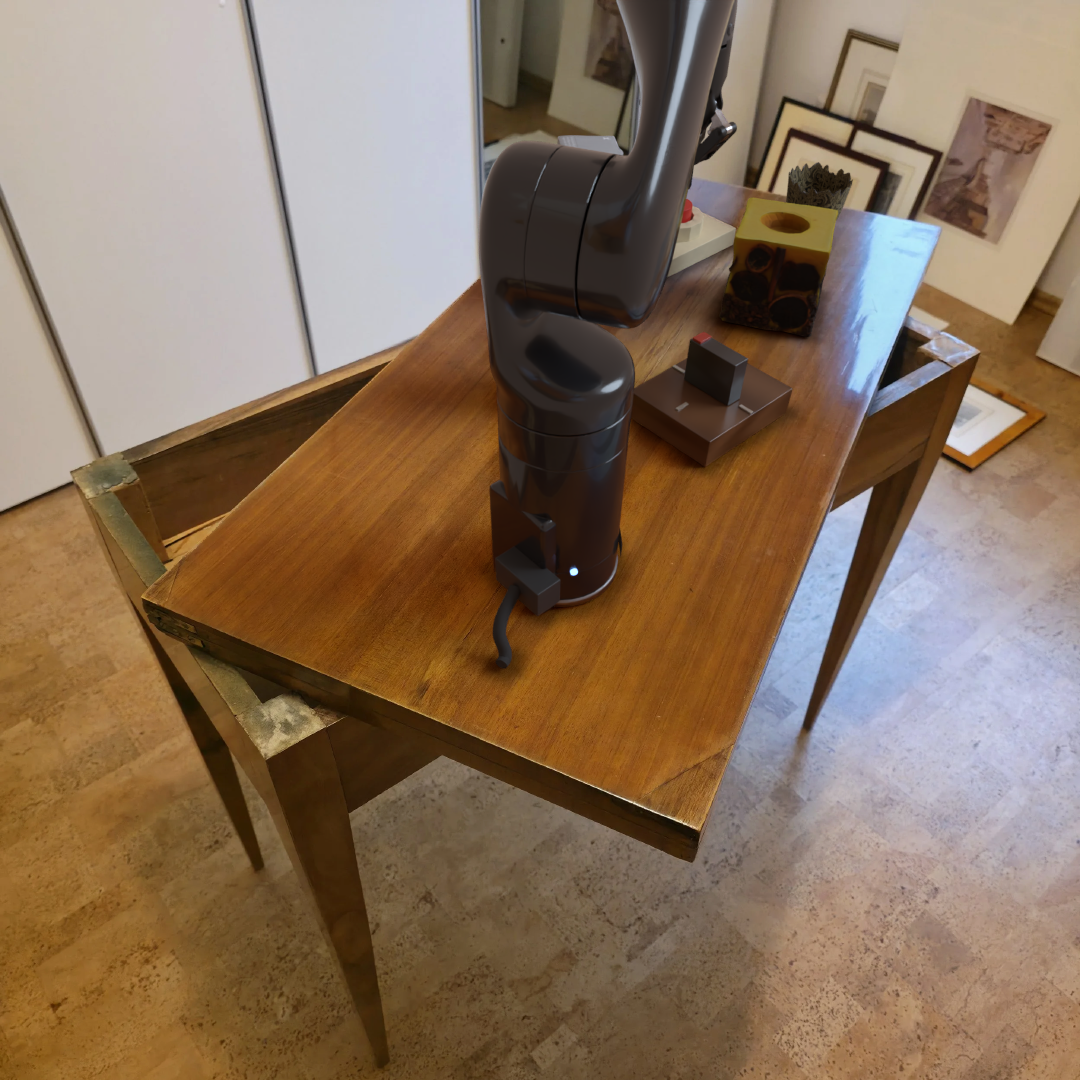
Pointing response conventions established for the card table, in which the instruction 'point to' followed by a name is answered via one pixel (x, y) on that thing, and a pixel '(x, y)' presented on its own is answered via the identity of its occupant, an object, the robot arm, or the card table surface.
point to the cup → (818, 187)
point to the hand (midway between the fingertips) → (677, 192)
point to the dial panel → (707, 411)
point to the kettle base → (700, 240)
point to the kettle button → (687, 211)
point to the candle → (778, 266)
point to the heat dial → (715, 368)
